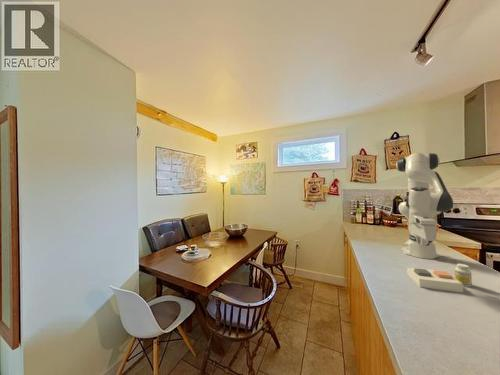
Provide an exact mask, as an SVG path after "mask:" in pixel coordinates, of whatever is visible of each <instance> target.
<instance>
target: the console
mask: <svg viewBox="0 0 500 375" xmlns="http://www.w3.org/2000/svg"><path fill="white" fill-rule="evenodd" d="M414 268H415V267H406V270H407V272H406V273H407V275H408V277H410V279H411V280H412V281H413V282H414V283H415V284H416V285H417V286H418V287H419V288H426V289H433V290H440V291H449V292H456V293H464V286H463V284H462V283H461V282H460V281H458V280H457V279H455V276H452V279H447V278H438V277H437V276H436V275H435V274H433V270H434V269H427V268H425V269H426V270H427V271H428V272H430V273H431V277H429V276H419V275H417V274H416V273H415V272H414ZM416 269H420V268H417V267H416ZM435 270H436V271H440V269H439V270H437V269H435Z"/></svg>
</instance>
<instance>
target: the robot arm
mask: <svg viewBox="0 0 500 375" xmlns="http://www.w3.org/2000/svg"><path fill="white" fill-rule="evenodd" d="M440 160H441V159H440V157H439V156H438V154H437V153H421V152H413V153H411V154H409V155H408V156H401V157H399V158H398V159H397V161H396V162H395V167H396V169H397V171H399V172H401V173H402V172H404V173H405V174H406V177H407V192H408V195H406V196H405V201H402V202H400V203H399V205H398V211H399V213H400V214H401V215H402V216H404V217H405V218H406V219H407V221H408V227H407V228H408V232H409V233H410V234H409V236H408V240H407V241H405V242H404V243H403V246H402V248H401V249H402V251H403V253H404V254H405V255H408V256H411V257H412V256H413V257H415V258H418V259H419V258H421V259H427V260H429V259H430V260H433V259H436V258H439V257H440V255H439V254H437V250H436V249H437V248H436V244H435V243H433V242H434V241H436V240H437V234H438V233H437V225H438V221H437V219H435V217H434V216H437V215H440V214H441V213H447V212H448V211H451V210H452V209H453V208H454V200H453V197H452V196H451V194H450V193H449V191H448V189H447V186H446V185H445V183H444V181H443V178H442V177H441V176H440V174H439V173H438V172H437V171H434V170H435V169H437V168H438V167H439V165H440ZM430 185H431V186H433V188H434V191H435V192H431V190H430Z"/></svg>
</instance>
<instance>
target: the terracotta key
mask: <svg viewBox="0 0 500 375" xmlns="http://www.w3.org/2000/svg"><path fill="white" fill-rule="evenodd" d="M432 270H433V274H435V275H436V276H437V277H438V278H447V279H452V277H453V275H452V274H450V273H449V272H448V271H445V270H439V271H436V270H437V269H432Z"/></svg>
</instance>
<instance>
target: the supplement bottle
mask: <svg viewBox="0 0 500 375" xmlns="http://www.w3.org/2000/svg"><path fill="white" fill-rule="evenodd" d="M454 273H455V274H454V278H455V279H457V280H458V281H460V282H461V283H462V284H463V287H466V288H469V287H472V286H473V284H472V283H473V282H472V271H471V270H470V266H469V265H467V264H464V263H457V264H456V267H455V268H454Z"/></svg>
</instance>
